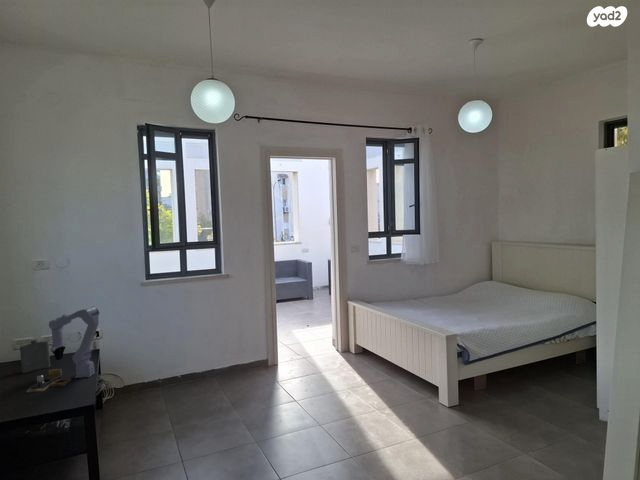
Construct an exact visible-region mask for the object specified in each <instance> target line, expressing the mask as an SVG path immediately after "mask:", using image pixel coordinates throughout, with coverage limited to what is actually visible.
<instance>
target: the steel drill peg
mask: <svg viewBox="0 0 640 480" xmlns="http://www.w3.org/2000/svg"><path fill="white" fill-rule="evenodd" d="M44 378H45V377H44V374H40V375H36V381H37V382H36V383H37V384H38V385H42V384H44V382H45V381H44Z"/></svg>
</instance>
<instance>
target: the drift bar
mask: <svg viewBox="0 0 640 480" xmlns="http://www.w3.org/2000/svg"><path fill="white" fill-rule="evenodd" d="M62 376H63V373H62V368H54V369H48V375H47V376H45V377H44V382H45V383H44V384H42V385H38V384H37V382H35V383H34V384H32V385H31V386H29V389H31V388H44V387H46V386H47V385H49V384H50V383H51V382H53V381H56V380H57V379H60V378H61V377H62Z"/></svg>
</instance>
